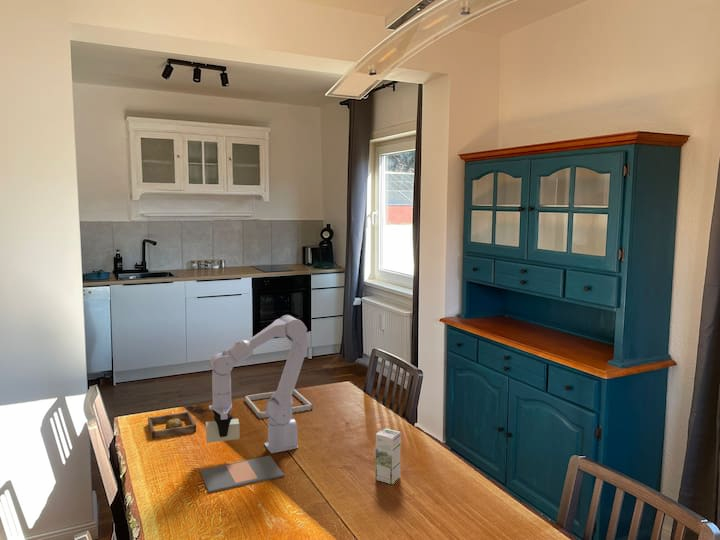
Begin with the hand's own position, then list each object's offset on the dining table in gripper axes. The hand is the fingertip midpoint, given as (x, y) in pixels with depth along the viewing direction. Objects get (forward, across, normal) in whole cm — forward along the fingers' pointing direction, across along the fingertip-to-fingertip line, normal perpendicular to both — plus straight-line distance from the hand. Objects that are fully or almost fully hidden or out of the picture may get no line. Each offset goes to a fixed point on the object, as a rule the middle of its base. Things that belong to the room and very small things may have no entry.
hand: (222, 433), depth 173 cm
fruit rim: (+8, -31, -16) cm, 35 cm away
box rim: (+8, -42, +25) cm, 50 cm away
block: (+2, 0, 0) cm, 2 cm away
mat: (+8, +12, +4) cm, 15 cm away
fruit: (+9, -28, -14) cm, 33 cm away
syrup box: (+9, +29, +45) cm, 54 cm away
